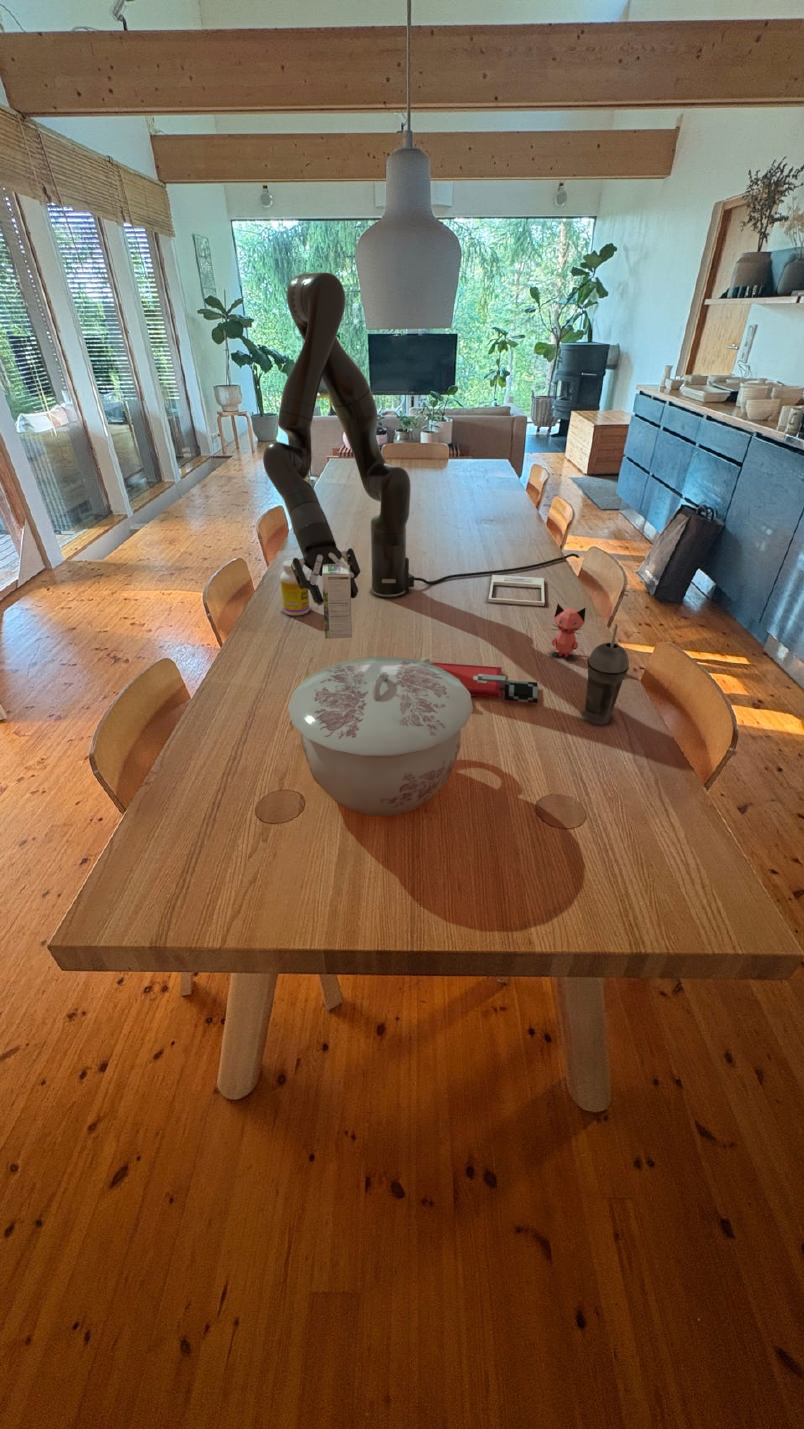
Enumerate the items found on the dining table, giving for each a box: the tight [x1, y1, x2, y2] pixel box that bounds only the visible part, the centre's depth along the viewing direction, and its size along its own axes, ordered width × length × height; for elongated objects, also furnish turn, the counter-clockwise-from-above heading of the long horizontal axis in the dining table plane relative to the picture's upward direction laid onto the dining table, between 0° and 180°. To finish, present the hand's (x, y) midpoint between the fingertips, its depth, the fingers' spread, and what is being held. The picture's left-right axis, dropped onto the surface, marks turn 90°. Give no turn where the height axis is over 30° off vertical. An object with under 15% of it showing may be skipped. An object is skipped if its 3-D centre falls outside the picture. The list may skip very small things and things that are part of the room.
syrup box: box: [321, 563, 353, 640], centre depth 131 cm, size 6×6×14 cm
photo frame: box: [487, 574, 546, 607], centre depth 171 cm, size 15×1×18 cm
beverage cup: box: [584, 623, 630, 725], centre depth 113 cm, size 7×7×20 cm
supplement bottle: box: [279, 559, 310, 617], centre depth 157 cm, size 7×7×13 cm
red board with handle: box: [431, 661, 539, 704], centre depth 128 cm, size 30×3×15 cm
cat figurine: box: [551, 603, 587, 661], centre depth 137 cm, size 7×7×12 cm
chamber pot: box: [287, 656, 474, 818], centre depth 96 cm, size 28×28×21 cm
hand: (338, 600), depth 130 cm, fingers closed on syrup box, 7 cm apart
